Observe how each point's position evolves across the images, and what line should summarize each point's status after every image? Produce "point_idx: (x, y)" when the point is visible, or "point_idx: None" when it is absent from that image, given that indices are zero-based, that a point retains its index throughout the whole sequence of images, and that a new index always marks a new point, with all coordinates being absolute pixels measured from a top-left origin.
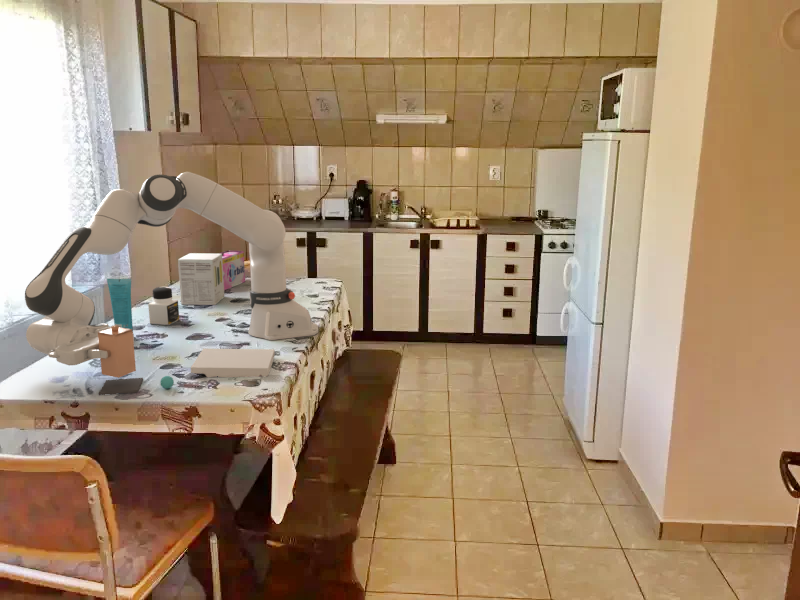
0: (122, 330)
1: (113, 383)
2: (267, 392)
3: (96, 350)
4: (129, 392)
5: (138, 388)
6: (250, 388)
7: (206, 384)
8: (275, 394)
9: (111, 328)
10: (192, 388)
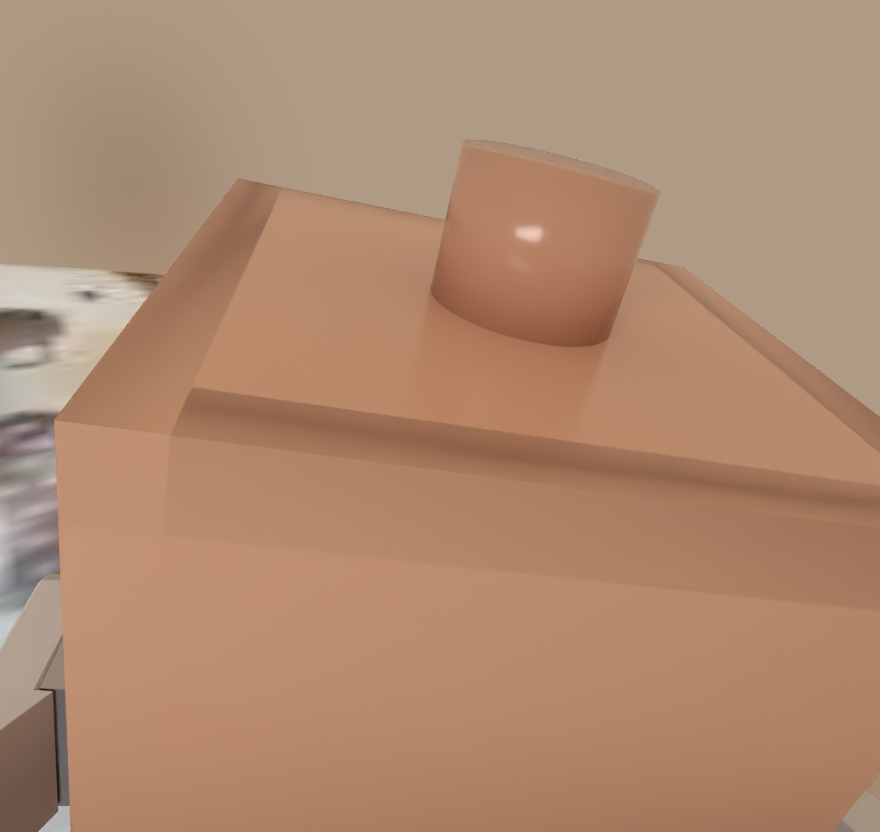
0: (403, 242)
1: None
2: (126, 290)
3: (869, 809)
4: None
5: None
6: (87, 324)
7: (52, 453)
8: (142, 277)
9: (635, 258)
10: None
